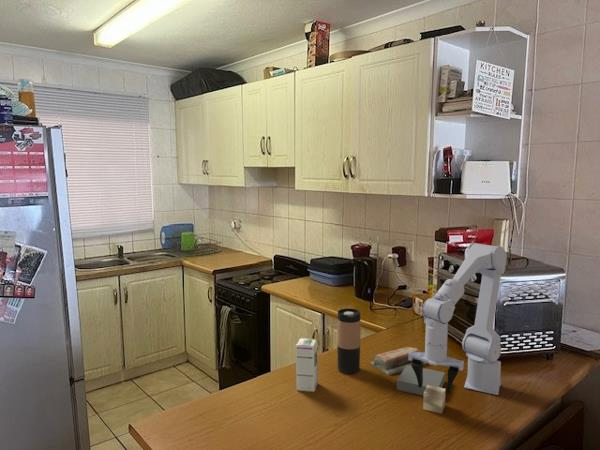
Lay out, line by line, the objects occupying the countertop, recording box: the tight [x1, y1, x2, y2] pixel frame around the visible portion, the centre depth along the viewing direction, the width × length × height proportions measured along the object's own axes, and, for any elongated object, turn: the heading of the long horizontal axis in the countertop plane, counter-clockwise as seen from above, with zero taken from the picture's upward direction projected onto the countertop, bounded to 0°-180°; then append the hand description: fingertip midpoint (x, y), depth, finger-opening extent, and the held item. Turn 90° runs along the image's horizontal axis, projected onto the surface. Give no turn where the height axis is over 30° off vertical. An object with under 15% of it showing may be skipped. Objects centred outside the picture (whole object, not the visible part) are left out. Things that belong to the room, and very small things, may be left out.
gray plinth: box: [396, 365, 446, 397], centre depth 133 cm, size 12×12×3 cm
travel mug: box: [336, 308, 361, 375], centre depth 143 cm, size 8×8×20 cm
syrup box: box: [295, 337, 319, 393], centre depth 132 cm, size 6×6×14 cm
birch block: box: [422, 385, 447, 415], centre depth 121 cm, size 5×5×5 cm
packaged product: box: [369, 346, 428, 376], centre depth 149 cm, size 18×5×10 cm
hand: (434, 389), depth 120 cm, fingers open, 7 cm apart
